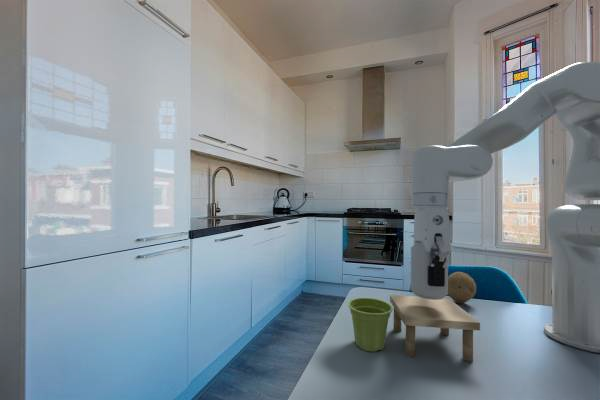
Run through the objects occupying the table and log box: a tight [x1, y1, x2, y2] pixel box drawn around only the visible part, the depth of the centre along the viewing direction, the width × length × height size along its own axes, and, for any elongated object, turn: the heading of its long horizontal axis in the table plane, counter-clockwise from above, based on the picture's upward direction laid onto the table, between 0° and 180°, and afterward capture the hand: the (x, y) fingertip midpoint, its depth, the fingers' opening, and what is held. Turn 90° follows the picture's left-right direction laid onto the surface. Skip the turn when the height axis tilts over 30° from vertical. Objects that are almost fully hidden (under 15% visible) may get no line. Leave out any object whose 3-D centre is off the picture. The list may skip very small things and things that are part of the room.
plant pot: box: [347, 297, 394, 353], centre depth 58 cm, size 9×9×9 cm
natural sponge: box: [447, 271, 477, 304], centre depth 85 cm, size 9×9×10 cm
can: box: [410, 240, 449, 300], centre depth 60 cm, size 8×8×12 cm
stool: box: [389, 294, 481, 363], centre depth 59 cm, size 14×14×8 cm
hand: (428, 280), depth 60 cm, fingers closed on can, 7 cm apart
